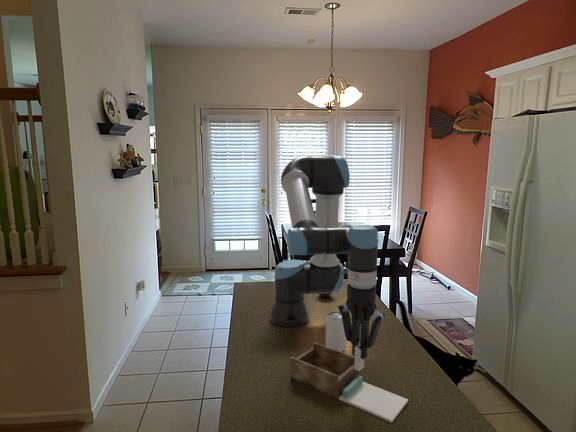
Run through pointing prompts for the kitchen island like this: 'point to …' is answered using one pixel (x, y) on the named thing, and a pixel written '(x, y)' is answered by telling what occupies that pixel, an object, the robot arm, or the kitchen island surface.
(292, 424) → the kitchen island surface
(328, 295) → the apple
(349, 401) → the lid
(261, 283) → the kitchen island surface
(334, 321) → the can
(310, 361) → the box
